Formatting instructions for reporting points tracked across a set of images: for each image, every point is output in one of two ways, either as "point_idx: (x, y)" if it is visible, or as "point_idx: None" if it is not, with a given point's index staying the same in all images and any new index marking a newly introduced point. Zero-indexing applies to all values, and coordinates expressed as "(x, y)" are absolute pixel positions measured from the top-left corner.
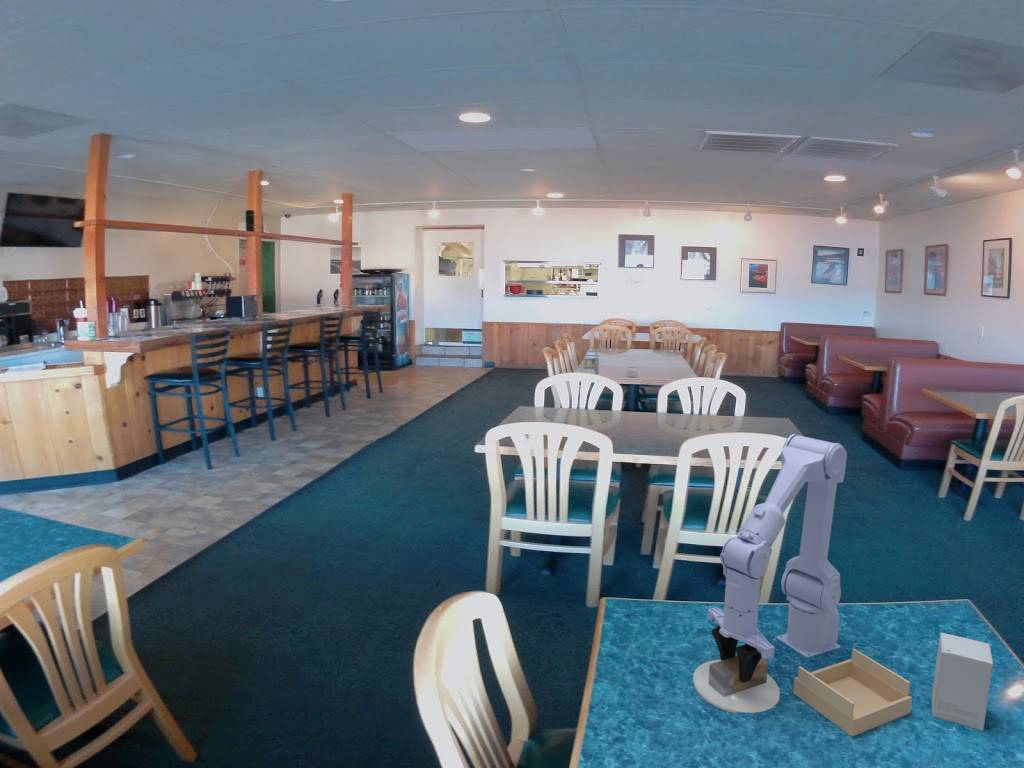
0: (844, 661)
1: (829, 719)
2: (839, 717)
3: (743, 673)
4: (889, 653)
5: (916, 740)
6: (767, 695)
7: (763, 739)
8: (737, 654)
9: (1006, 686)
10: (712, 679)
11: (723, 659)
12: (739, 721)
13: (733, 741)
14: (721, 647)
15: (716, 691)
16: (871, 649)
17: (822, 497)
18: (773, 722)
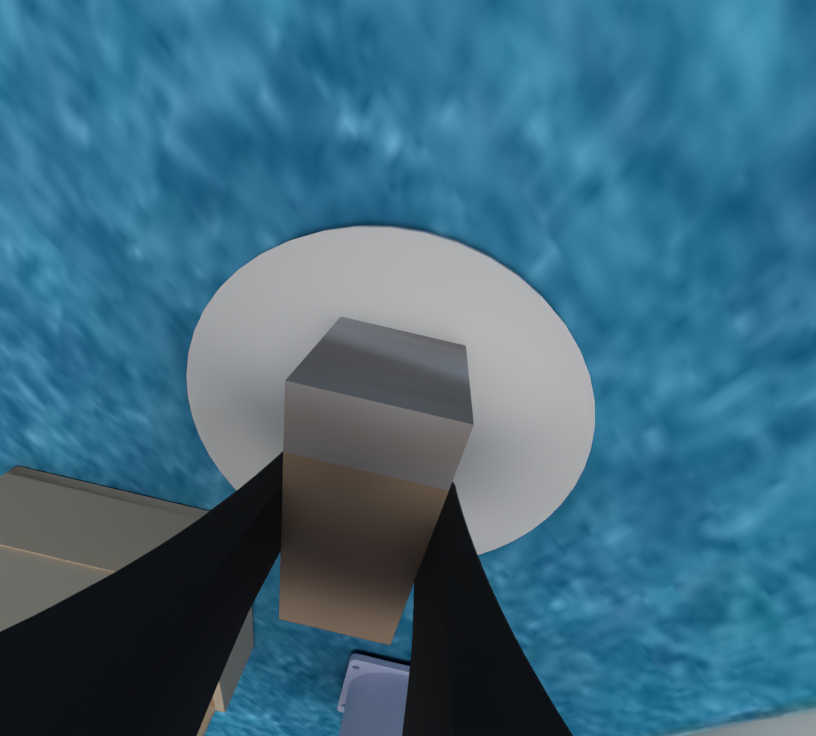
0: (220, 702)
1: (89, 493)
2: (17, 513)
3: (240, 488)
4: (277, 718)
5: None
6: (256, 464)
7: (45, 215)
8: (154, 648)
9: None
10: (435, 360)
11: (438, 525)
12: (191, 234)
13: (45, 26)
14: (449, 630)
15: (396, 325)
16: (304, 716)
17: None
18: (143, 356)
